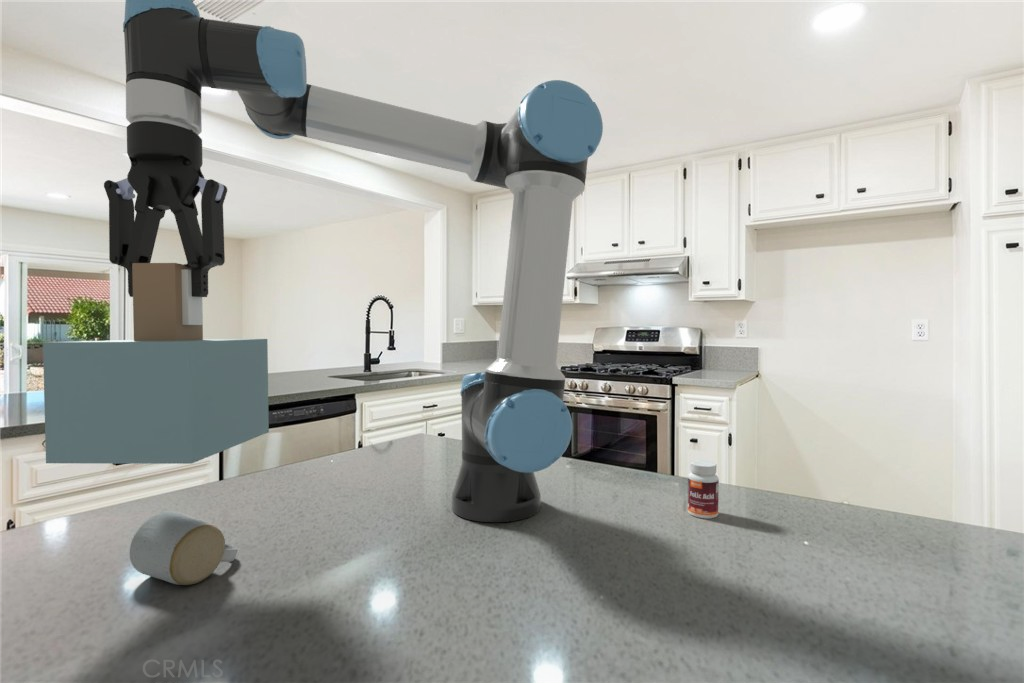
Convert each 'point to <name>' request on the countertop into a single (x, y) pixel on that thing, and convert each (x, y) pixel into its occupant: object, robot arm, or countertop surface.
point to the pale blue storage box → (153, 386)
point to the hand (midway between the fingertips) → (169, 324)
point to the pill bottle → (703, 489)
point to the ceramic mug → (179, 548)
